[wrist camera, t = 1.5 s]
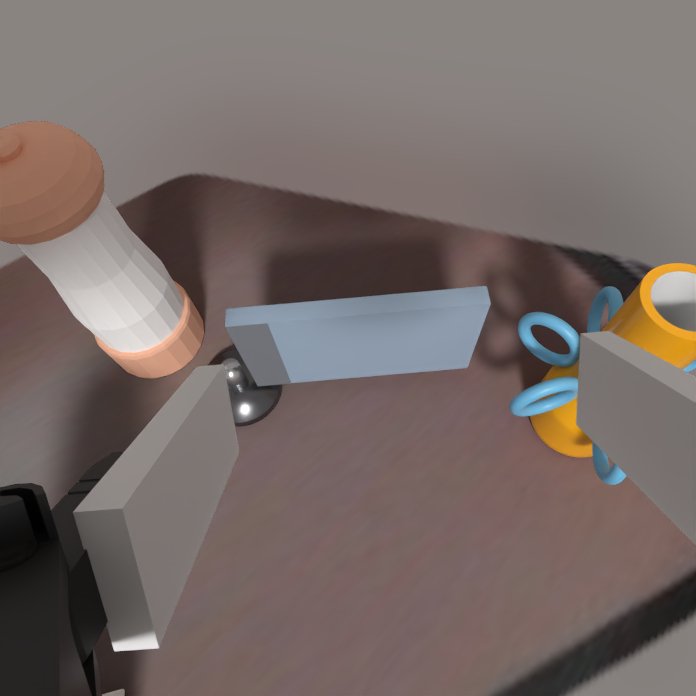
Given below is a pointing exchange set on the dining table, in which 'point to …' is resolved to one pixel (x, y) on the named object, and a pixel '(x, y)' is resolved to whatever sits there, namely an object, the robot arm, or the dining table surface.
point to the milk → (115, 693)
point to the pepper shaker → (92, 250)
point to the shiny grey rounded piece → (246, 390)
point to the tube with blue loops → (624, 321)
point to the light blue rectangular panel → (359, 335)
